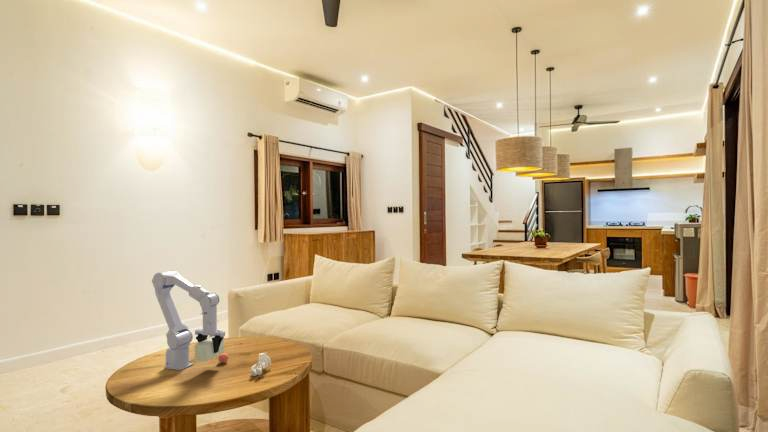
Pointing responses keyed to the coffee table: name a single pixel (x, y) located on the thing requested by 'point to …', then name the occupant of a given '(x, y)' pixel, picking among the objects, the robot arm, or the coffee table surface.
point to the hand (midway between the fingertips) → (209, 351)
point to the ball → (223, 358)
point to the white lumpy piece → (260, 364)
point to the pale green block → (207, 349)
